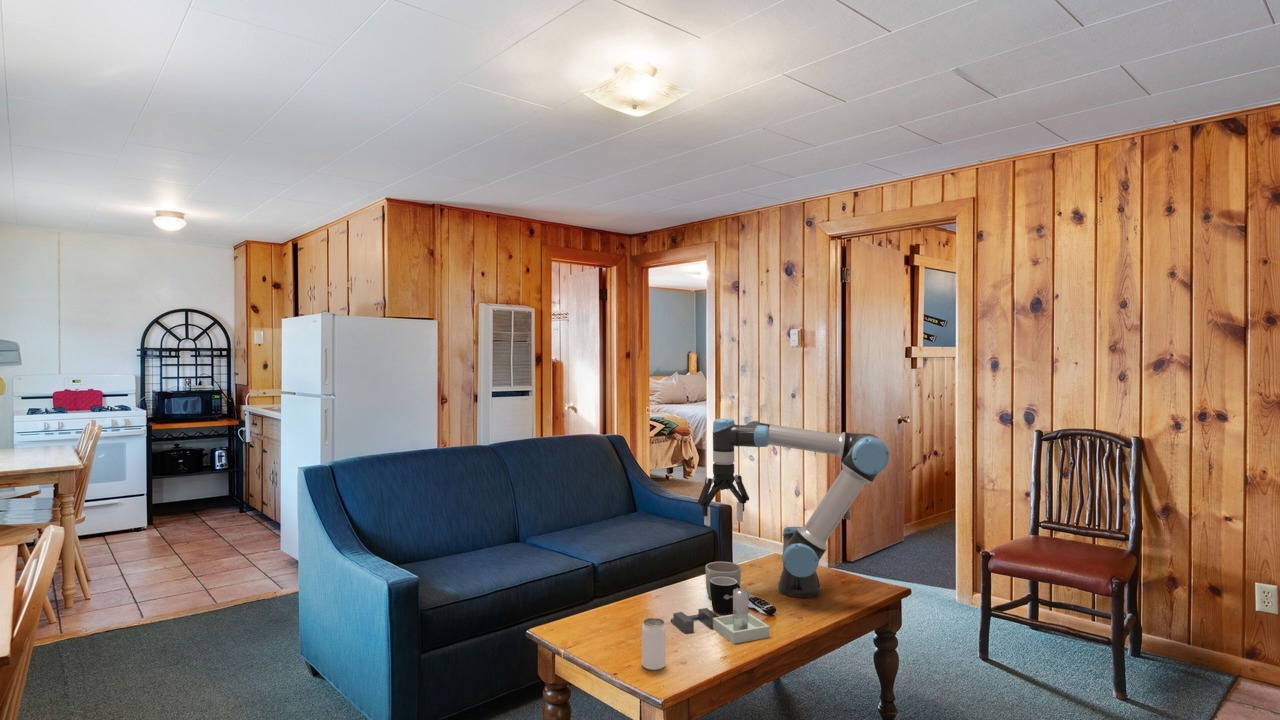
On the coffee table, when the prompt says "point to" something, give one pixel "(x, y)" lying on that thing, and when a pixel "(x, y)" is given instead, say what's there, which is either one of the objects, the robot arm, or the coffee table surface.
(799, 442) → the robot arm
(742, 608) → the pin
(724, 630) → the tray
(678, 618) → the hitch clevis
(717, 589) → the mug
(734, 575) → the planter
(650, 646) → the can
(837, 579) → the coffee table surface
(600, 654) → the coffee table surface
